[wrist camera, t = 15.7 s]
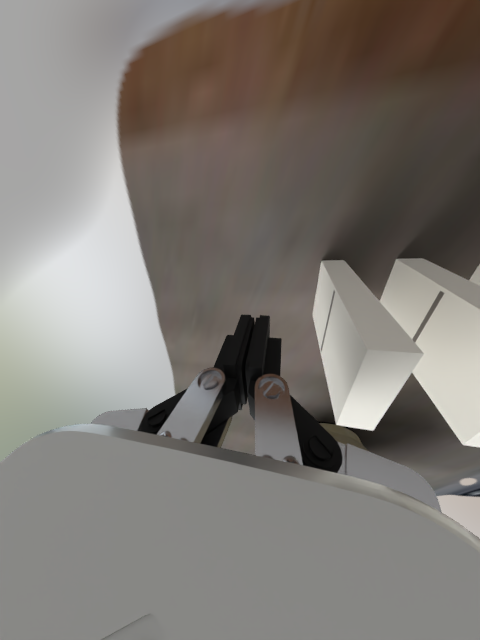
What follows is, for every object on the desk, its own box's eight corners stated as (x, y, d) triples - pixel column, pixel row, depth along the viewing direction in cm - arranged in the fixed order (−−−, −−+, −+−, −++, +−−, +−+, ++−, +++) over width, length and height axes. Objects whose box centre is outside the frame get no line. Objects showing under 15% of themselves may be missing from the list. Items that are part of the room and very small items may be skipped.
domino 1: (344, 260, 14) (424, 353, 6) (331, 315, 17) (373, 430, 9) (321, 260, 14) (367, 349, 6) (312, 314, 17) (336, 425, 9)
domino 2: (422, 258, 13) (655, 370, 5) (395, 317, 16) (511, 452, 7) (395, 258, 13) (569, 364, 5) (373, 317, 16) (462, 444, 8)
